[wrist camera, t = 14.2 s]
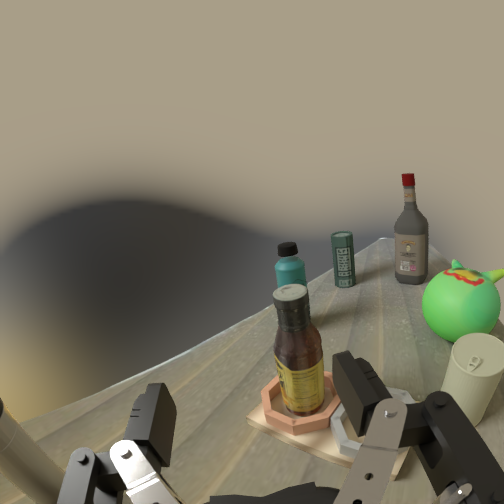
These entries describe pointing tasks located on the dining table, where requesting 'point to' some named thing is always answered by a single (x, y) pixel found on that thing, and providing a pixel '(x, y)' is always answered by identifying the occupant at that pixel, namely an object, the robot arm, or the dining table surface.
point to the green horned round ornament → (462, 302)
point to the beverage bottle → (290, 266)
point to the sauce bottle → (298, 352)
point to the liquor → (411, 239)
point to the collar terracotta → (299, 424)
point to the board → (314, 434)
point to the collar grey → (338, 431)
